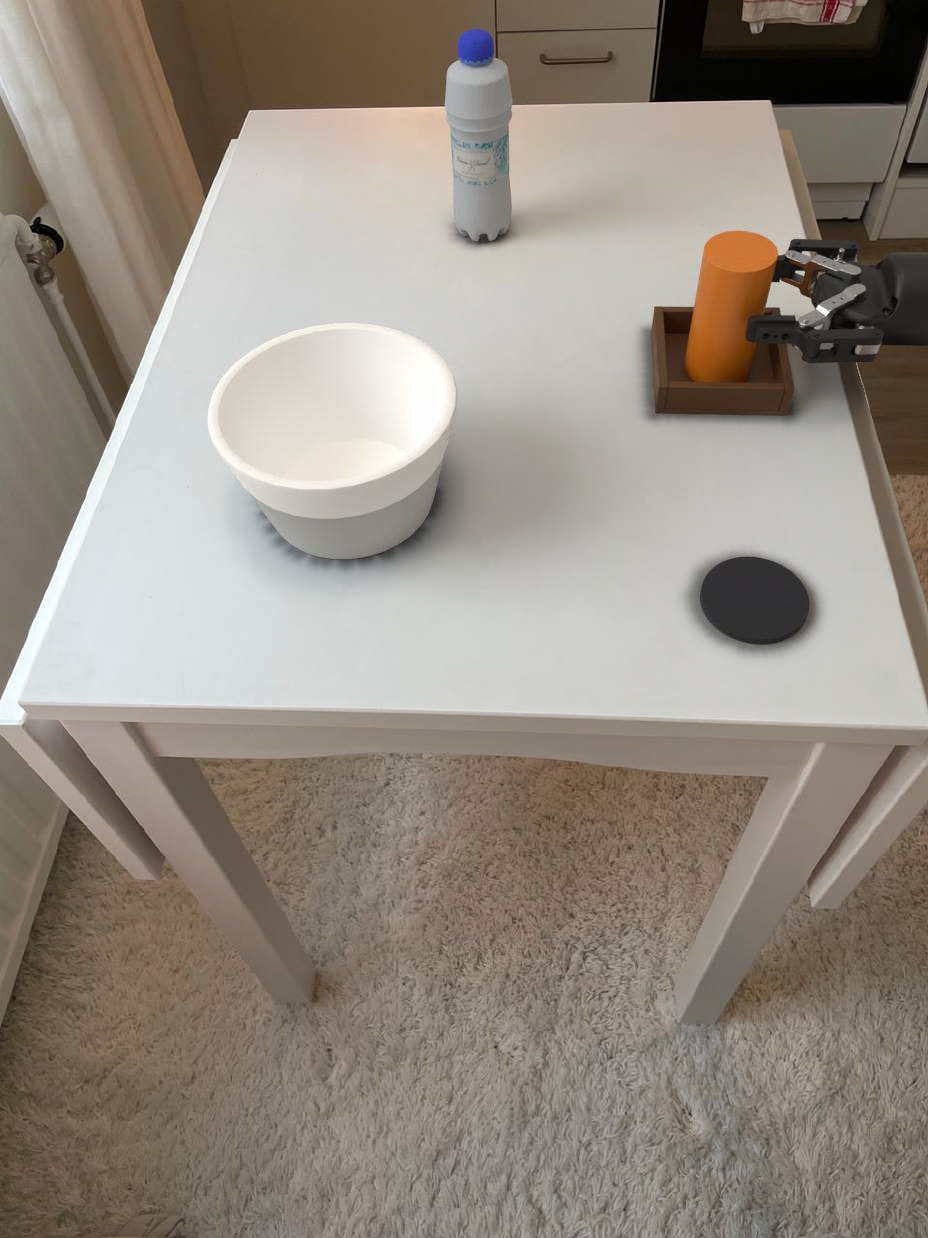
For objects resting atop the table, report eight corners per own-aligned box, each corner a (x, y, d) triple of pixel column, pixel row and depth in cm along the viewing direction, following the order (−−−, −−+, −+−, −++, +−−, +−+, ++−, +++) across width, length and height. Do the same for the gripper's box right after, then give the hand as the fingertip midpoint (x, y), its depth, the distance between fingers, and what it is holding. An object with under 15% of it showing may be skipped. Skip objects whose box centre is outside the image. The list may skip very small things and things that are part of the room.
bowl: (298, 403, 89) (274, 304, 80) (494, 444, 84) (490, 343, 76) (198, 553, 78) (159, 458, 70) (416, 609, 74) (402, 514, 65)
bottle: (443, 241, 104) (428, 42, 88) (466, 208, 107) (456, 12, 91) (501, 252, 102) (497, 51, 86) (522, 218, 106) (522, 20, 89)
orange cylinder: (757, 355, 89) (786, 238, 79) (740, 395, 86) (767, 278, 76) (694, 341, 91) (715, 224, 81) (675, 379, 88) (694, 263, 78)
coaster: (817, 579, 74) (819, 574, 73) (793, 658, 70) (795, 653, 69) (716, 549, 76) (717, 544, 76) (686, 624, 72) (687, 619, 71)
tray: (773, 333, 92) (779, 306, 89) (787, 415, 85) (794, 388, 82) (650, 332, 93) (654, 305, 90) (655, 412, 86) (659, 386, 83)
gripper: (936, 212, 82) (743, 211, 83) (974, 313, 74) (759, 311, 75) (907, 288, 88) (728, 286, 90) (939, 390, 80) (741, 386, 81)
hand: (742, 297), depth 82 cm, fingers open, 8 cm apart
